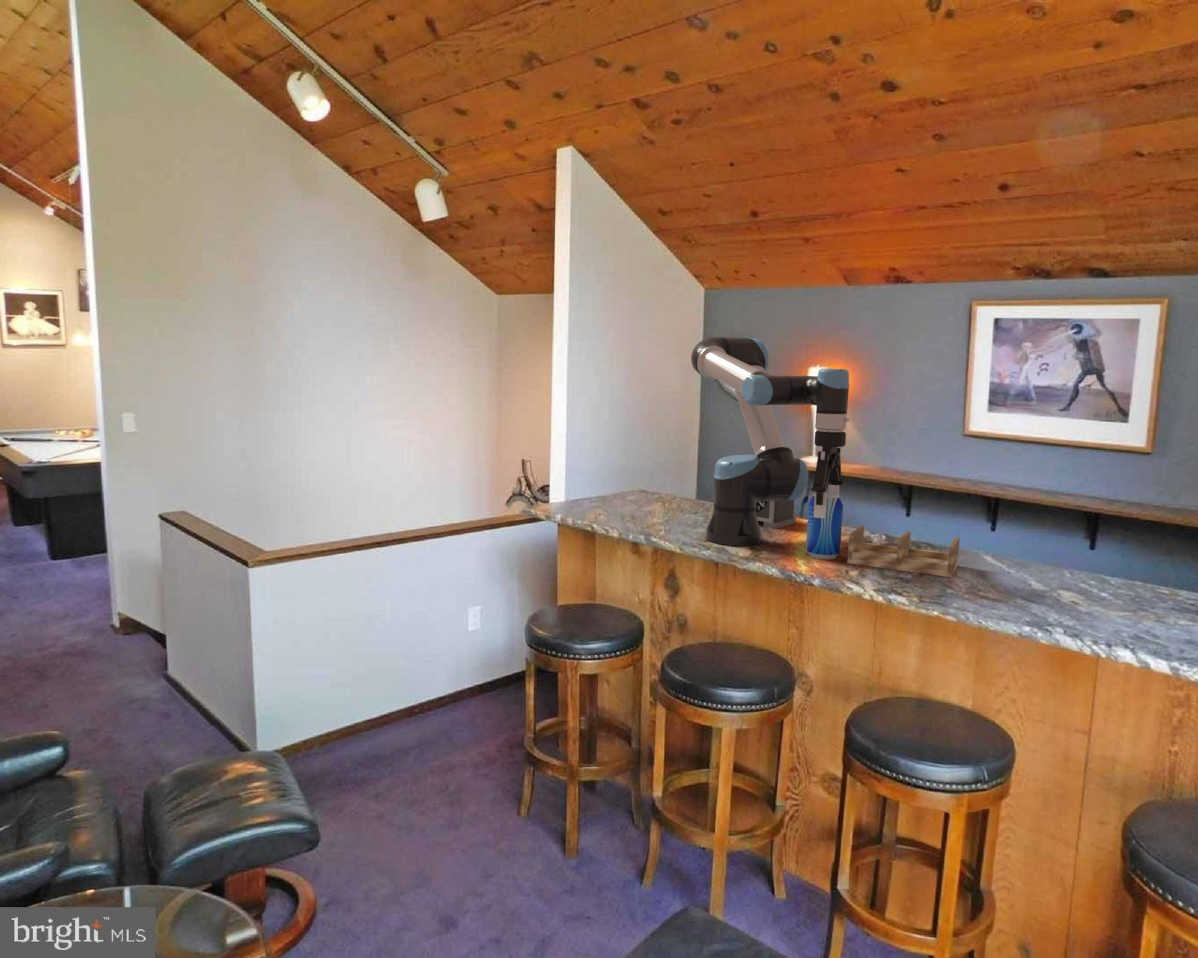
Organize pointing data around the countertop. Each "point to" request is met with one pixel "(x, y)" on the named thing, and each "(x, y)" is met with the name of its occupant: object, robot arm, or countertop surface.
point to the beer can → (825, 529)
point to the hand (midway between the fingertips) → (826, 513)
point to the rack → (902, 555)
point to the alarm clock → (775, 513)
